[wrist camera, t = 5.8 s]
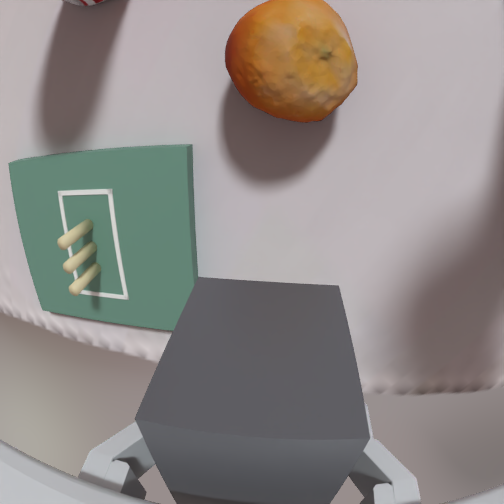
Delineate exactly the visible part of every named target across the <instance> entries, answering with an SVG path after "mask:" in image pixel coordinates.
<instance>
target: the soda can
mask: <svg viewBox="0 0 504 504" xmlns="http://www.w3.org/2000/svg"><path fill="white" fill-rule="evenodd" d="M63 1H66V2H69V3H72V4H76V5H79V6H91V5H95V4H99V3H101V2H103V1H105V0H63Z"/></svg>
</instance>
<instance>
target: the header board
mask: <svg viewBox="0 0 504 504" xmlns="http://www.w3.org/2000/svg"><path fill="white" fill-rule="evenodd" d="M9 171H10V179H11V185H12V192H13V198H14V204H15V209H16V214H17V219H18V224H19V229H20V233H21V237H22V242H23V246H24V250H25V254H26V258H27V261H28V265H29V269H30V272H31V276H32V279H33V282H34V286H35V289H36V292H37V295H38V298H39V301H40V304H41V307H42V310H45V311H49V312H54V313H60V314H65V315H70V316H76V317H81V318H87V319H93V320H99V321H105V322H111V323H118V324H125V325H132V326H139V327H146V328H154V329H162V330H170V331H173V330H174V328H175V326H176V324H177V322H178V319H179V317H180V315H181V313H182V311H183V309H184V307H185V304H186V302H187V300H188V298H189V296H190V294H191V292H192V289H193V287H194V285H195V283H196V281H197V279H198V268H197V252H196V234H195V214H194V189H193V152H192V144H188V145H158V146H138V147H123V148H110V149H98V150H88V151H78V152H70V153H61V154H54V155H46V156H39V157H32V158H26V159H20V160H16V161H13V162H10V163H9Z"/></svg>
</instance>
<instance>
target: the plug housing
mask: <svg viewBox="0 0 504 504" xmlns="http://www.w3.org/2000/svg"><path fill="white" fill-rule="evenodd" d="M135 420H136V423H137V425H138V427H139V430H140V432H141V434H142V436H143V438H144V441H145V443H146V445H147V447H148V449H149V451H150V454H151V456H152V458H153V460H154V462H155V464H156V466H157V468H158V470H159V471H160V474H161V476H162V478H163V479H164V481H165V483H166V485H167V487H168V489H169V490H170V492H171V494H172V496H173V498H174V500H175V501H176V503H177V504H330V502H331V501H332V500H333V498H334V496H335V495H336V494H337V492H338V491H339V489H340V487H341V486H342V485H343V483H344V481H345V480H346V478H347V477H348V475H349V474H350V472H351V470H352V469H353V467H354V466H355V464H356V462H357V461H358V459H359V457H360V455H361V454H362V452H363V450H364V449H365V447H366V445H367V443H368V441H369V440H370V433H369V427H368V421H367V415H366V410H365V404H364V399H363V393H362V388H361V383H360V378H359V373H358V368H357V363H356V358H355V353H354V349H353V344H352V340H351V335H350V331H349V326H348V322H347V318H346V313H345V309H344V305H343V301H342V297H341V293H340V289H339V286H336V285H316V284H297V283H279V282H263V281H247V280H232V279H218V278H204V277H198V279H197V281H196V283H195V285H194V287H193V289H192V292H191V294H190V296H189V298H188V300H187V302H186V304H185V307H184V309H183V311H182V313H181V315H180V317H179V319H178V322H177V324H176V326H175V328H174V330H173V333H172V335H171V337H170V339H169V341H168V344H167V346H166V348H165V350H164V352H163V355H162V357H161V359H160V361H159V364H158V366H157V368H156V371H155V373H154V375H153V377H152V379H151V382H150V384H149V386H148V389H147V391H146V393H145V396H144V398H143V400H142V403H141V405H140V407H139V410H138V412H137V414H136V417H135Z"/></svg>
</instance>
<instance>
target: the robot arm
mask: <svg viewBox="0 0 504 504" xmlns="http://www.w3.org/2000/svg"><path fill="white" fill-rule="evenodd" d="M364 404H365V410H366V415H367V421H368V427H369V433H370V440H369V441H368V443H367V445H366V447H365V449H364V450H363V452H362V454H361V455H360V457H359V459H358V461H357V462H356V464H355V466H354V467H353V469H352V470H351V472H350V474H349V475H348V476H349V477H350V478H351V480H352V481H353V483H354V484H355V485H356V486H357V488H358V489H359V490H360V492H361V493H362V494H363V496H364V497H365V498H364V499H363V500H362V501H361V503H360V504H421V499H420V494H419V489H418V483H417V479H416V477H415V476H414V475H413V474H412V473H411V472H410V471H409V470H408V469H407V468H406V467H405V466H404V465H403V464H402V463H401V462H400V461H399V460H397V458H396V457H395V456H394V455H392V453H390V452H389V450H388V449H387V448H386V447H385V446H383V444H382V443H381V442H380V441H378V440H377V439H373V433H372V427H371V422H370V416H369V411H368V406H367V405H366V403H364ZM153 465H155V462H154V460H153V458H152V456H151V454H150V451H149V449H148V447H147V445H146V443H145V441H144V438H143V436H142V434H141V432H140V430H139V427H138V425H137V423H136V421H135V422H134V423H132V424H131V425H129V426H128V427H126V428H125V429H123V430H122V431H120V432H118V433H117V434H115V435H114V436H112V437H111V438H109V439H108V440H106V441H104V442H103V443H101V444H100V445H98V446H97V447H95V448H94V449H92V450H91V451H90V452H89V454H88V457H87V459H86V461H85V463H84V465H83V468H82V470H81V472H80V474H79V476H78V478H77V477H75V476H73V475H70V474H68V473H65V472H63V471H61V470H59V469H56V468H54V467H52V466H50V465H48V464H46V463H43V462H41V461H39V460H37V459H35V458H33V457H31V456H29V455H27V454H26V453H24V452H22V451H20V450H18V449H16V448H14V447H12V446H11V445H9V444H7V443H5V442H4V441H2V440H0V504H159V503H155V502H151V501H147V500H144V499H145V496H146V491H145V489H144V488H143V486H142V485H141V483H140V482H139V480H138V478H139V477H141V476H142V475H143V474H144V473H145V472H147V470H149V469H150V468H151V467H152V466H153ZM441 504H504V484H501V485H499V486H496V487H493V488H491V489H488V490H485V491H482V492H479V493H476V494H473V495H470V496H467V497H463V498H460V499H456V500H453V501H449V502H445V503H441Z"/></svg>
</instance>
